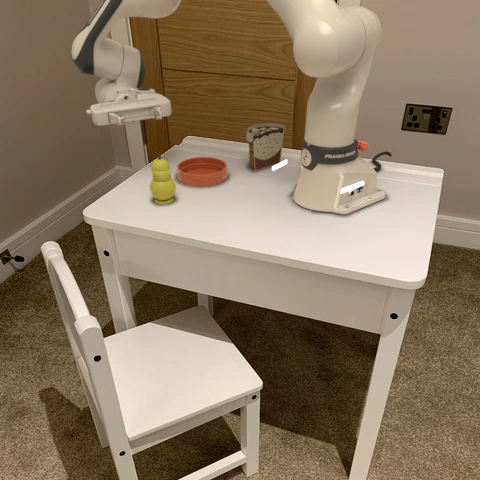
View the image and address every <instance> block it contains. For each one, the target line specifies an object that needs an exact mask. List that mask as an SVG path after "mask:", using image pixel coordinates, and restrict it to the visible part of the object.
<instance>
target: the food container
mask: <svg viewBox="0 0 480 480" xmlns="http://www.w3.org/2000/svg"><path fill="white" fill-rule="evenodd" d="M286 133H287V131H286V125H283V124H280V123H272V122H271V123H269V122H268V123H267V122H265V123H257V124H252V125H251V126H249V127H248V128H247V130H246V134H245V140H246V141H247V142H248V143H247V144H248V154H249V156H248V157H249V165H250V166H249V167H250V169H252V170H253V171H255V172H256V171H258V170H261V169H264V168H268V167H273V166H275V165H277V164H279V163H280V162H282V160H281V159H282V153H283V144H284V137H285V136H284V135H285V134H286Z"/></svg>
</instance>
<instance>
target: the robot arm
mask: <svg viewBox="0 0 480 480" xmlns="http://www.w3.org/2000/svg"><path fill="white" fill-rule="evenodd" d="M182 1H183V0H101V1H100V3H99V4H98V6H97V7H96V9H95V10H94V12H93V13H92V15H91V17H90V18H89V19H88V21H87V23H86V24H85V25H84V26H83V28H82V29H81V30H80V31H78V32H77V34H76V36H75V38H74V39H73V42H72V45H71V50H70V51H71V53H70V56H71V60H72V62H73V64H74V65H75V66H76V68H77V69H78V71H79V72H80V73H81V74H85V75H89V76H94V77H97V78H101V79H99V80H98V81H97V82H96V84H95V87H94V95H95V99H96V101H97V103H94V104H91V105H90V107H89V109H86V110H85V113H86V115H87V116H89V117H91V120H92V123H93V124H94V126H96V127H105V126H113V125H117V126H119V127H120V126H124V125H130V124H132V123H135V122H139V121H146V120H151V119H154V120H156V121H158V120H163V118H164V117H170V116H171V115H172V114H173V113H172V111H173V110H172V103H171V100H170V99H169V98H168V97H166V96H164V95H163V94H161V93H157V92H156V90H155V89H154V88H149V87H148V88H147V87H146V88H143V87H142V86H143V84H144V80H145V77H146V64H145V60H144V56H143V54H142V53H141V51H140V50H139V49H138V48H136V47H134V46H131V45H128V44H126V43H123V42H120V41H117V40H115V39H111V38H109V37H107V36H108V35H109V33H110V32H111V30H112V29H113V27H114V26H115V25H116V23H117V22H118V21H120V20H123V19H125V18H147V19H162V18H166V17H168V16H170V15H172V14H173V13H174V12H176V11H177V9H178V8H179V6H180V4H181V3H182ZM265 2H266V3H267V4H268V5H269V6H270V7H271V9H272V10H273V11H274V12H275V13H276V15H277V16H278V18H279V19H280V21H281V22H282V24H283V25H284V27H285V29H286V32H287V33H288V35H289V38H290V40H291V43H292V53H293V58H294V62H295V64H296V66H297V68H298V69H299V70H300V71H301V73H303V74H304V75H306V76H308V77H311V78H316V80H315V83H314V87H313V89H312V91H311V93H310V95H309V96H308V99H307V101H306V102H307V103H306V113H305V127H304V136H303V137H302V139H301V148H300V149H301V150H300V164H301V165H300V170H299V175H298V178H297V179H298V180H297V183H296V185H295V188H294V189H295V190H294V192H293V194H292V200H293V201H294V202H295V204H297V205H298V206H300V207H302V208H304V209H307V210H311V211H316V212H325V213H326V212H327V213H334V214H338V215H348V214H351V213H354V212H356V211H358V210H361V209H362V208H366V207H368V206H369V205H373V204H374V203H377V202H381V201H382V200H384V199H385V198H386V193H385V191H384V190H383V189H382V188H381V187H380V186H379V185H378V175H377V171H379V170H380V169H382V164H381V163H380V162H379V161H378V158H379V157H383V156H385V155H387V156H388V157H392V156H393V154H392V153H391V152H390V151H387V150H386V151H382V152H380V153H377V154H376V155H374V156H373V157H372V160H371V161H372V163H373V164H374V165H376V167H373V166H372V165H371V164H369V163H368V162H367V161H366V160H365V159H363V158H362V157H361V156H360V154H359V151H361V152H364V153H365V152H367V151H368V149H369V147H370V146H369V145H370V144H369V142H366V141H364V140H359V141H358V139H356V138H355V137H356V131H357V125H358V116H359V110H360V105H361V101H362V98H363V94H364V90H365V87H366V84H367V81H368V77H369V76H370V75H369V74H370V71H371V67H372V65H373V60H374V56H375V54H376V52H377V49H378V48H379V45H380V43H381V41H382V37H383V36H382V35H383V28H382V23H381V20H380V18H379V16H378V15H377V14H376V13H375V12H374V11H373V10H371V9H369V8H366V7H364V6H361V5H349V6H346V7H341V6H340V5H339V4H337V2H336V1H335V0H265ZM287 164H288V159H285V160H283V161H282V160H281V161H280V163H279V164H276V165H273V166H271V171H272V172H274V171H276V170H278V169H280V168H282V167H284V166H285V165H287Z"/></svg>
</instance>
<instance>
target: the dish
mask: <svg viewBox="0 0 480 480" xmlns="http://www.w3.org/2000/svg"><path fill="white" fill-rule="evenodd" d="M228 171H229V169H228V164H227V162H226V161H224V159H223V160H222V159H221V158H218V157H212V156H196V157H189V158H186V159H183V160H182V161H180V162H178V163H177V164H176V175H177V180H178V181H179V182H180V183H182V184H184V185H189V186H194V187H210V186H214V185H218V184H220V183H223V182H225V181H226V180H227V179H228V175H229V173H228Z"/></svg>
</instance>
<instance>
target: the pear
mask: <svg viewBox="0 0 480 480" xmlns="http://www.w3.org/2000/svg"><path fill="white" fill-rule="evenodd" d="M157 157H158V158H156V159H155V160H154V161H152V164H151V175H152V179H151V181H150V183H149V190H150V193H151V195H152V197H153V201H154V203H156V204H160V205H167V204H170V203H173V202H174V195H175V193H176V189H177V186H176V182H175V180H174V179H173V178H172V174H171V165H170V163H169V162H168V161H167V160H166V159H164V158H162V154H161V153H157Z"/></svg>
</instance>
